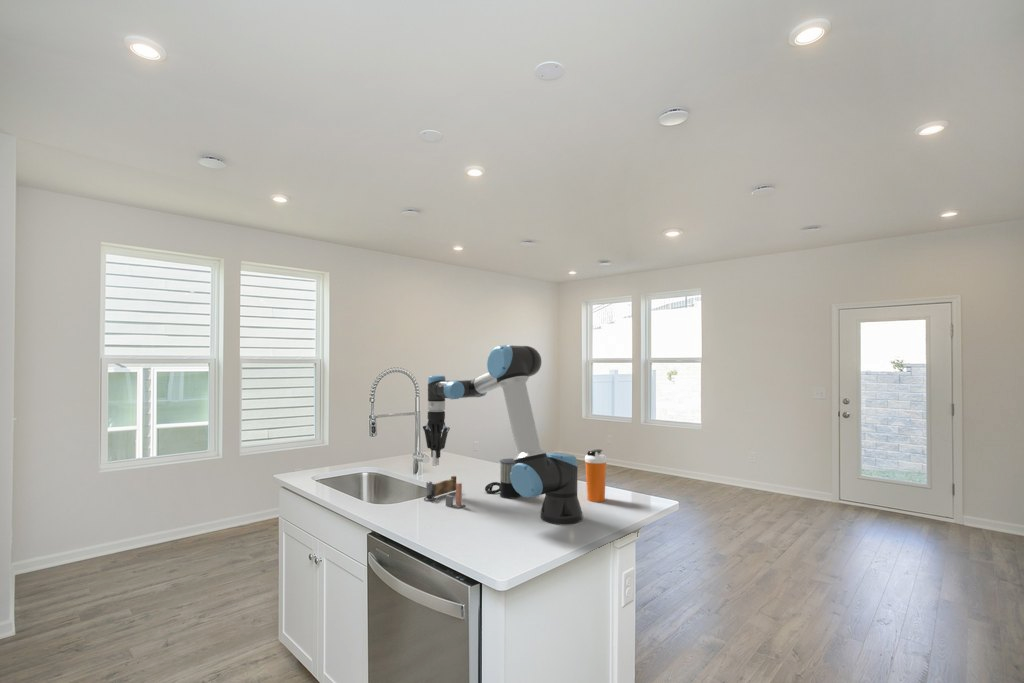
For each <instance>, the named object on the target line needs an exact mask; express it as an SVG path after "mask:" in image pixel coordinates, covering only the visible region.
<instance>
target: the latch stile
mask: <svg viewBox="0 0 1024 683" xmlns="http://www.w3.org/2000/svg"><path fill="white" fill-rule="evenodd" d="M462 484H463V483H462V482H456V491H455V504H454V496H453V495H449V494H446V495H445V507H448V508H449V507H450V508H455V509H462V508H464V507H466V504H465V503H464V504H463V503H462V502H463V501H462V498H463V495H462V494H463V490H462V488H463V486H462Z"/></svg>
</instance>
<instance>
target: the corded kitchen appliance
mask: <svg viewBox="0 0 1024 683" xmlns="http://www.w3.org/2000/svg"><path fill="white" fill-rule="evenodd" d="M499 462H500V466H499V467H500V468H499V469H500V476H499V477H500V482H498V481H494V482H490V483H488V484H487V485H486V486H485V487H484V491H485V492H487V493H488V494H497V493H499V496H500V497H501V498H504V499H516V498H520V497H522V496H521V495H520V494H519V493H517V492H516V490H515V489H514V487H513V485H512V483H511V479H510V473H511V472H512V471H511V469H512V467H513V466H514V465H515V464H514V458H503V459H500V460H499ZM494 486H497V487H499V488H498V489H494V490H493V487H494Z"/></svg>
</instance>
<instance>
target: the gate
mask: <svg viewBox="0 0 1024 683" xmlns="http://www.w3.org/2000/svg"><path fill="white" fill-rule="evenodd" d="M456 483H457V476H456V475H452V476H450V478H449V479H446V480H442V481H438V482H434V483H432V497H434V498H435V497H439V496H441V495H445V494H449V493H452V492H454V491H455V492H456Z"/></svg>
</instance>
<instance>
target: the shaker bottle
mask: <svg viewBox="0 0 1024 683" xmlns="http://www.w3.org/2000/svg"><path fill="white" fill-rule="evenodd" d="M603 451H604V450H603V449H593V450H587V452H586V453H587V454H586V455H585V456H584V462H585V475H586V476H585V477H586V481H585V482H586V495H587V496H586V497H587V499H586V500H588V501H589V502H593V503H601V502H604V501H605V499H606V479H607V478H606V474H607V462H608V461H607V460H608V458H607V456H606V455H605V454H604V453H602V452H603Z"/></svg>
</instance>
